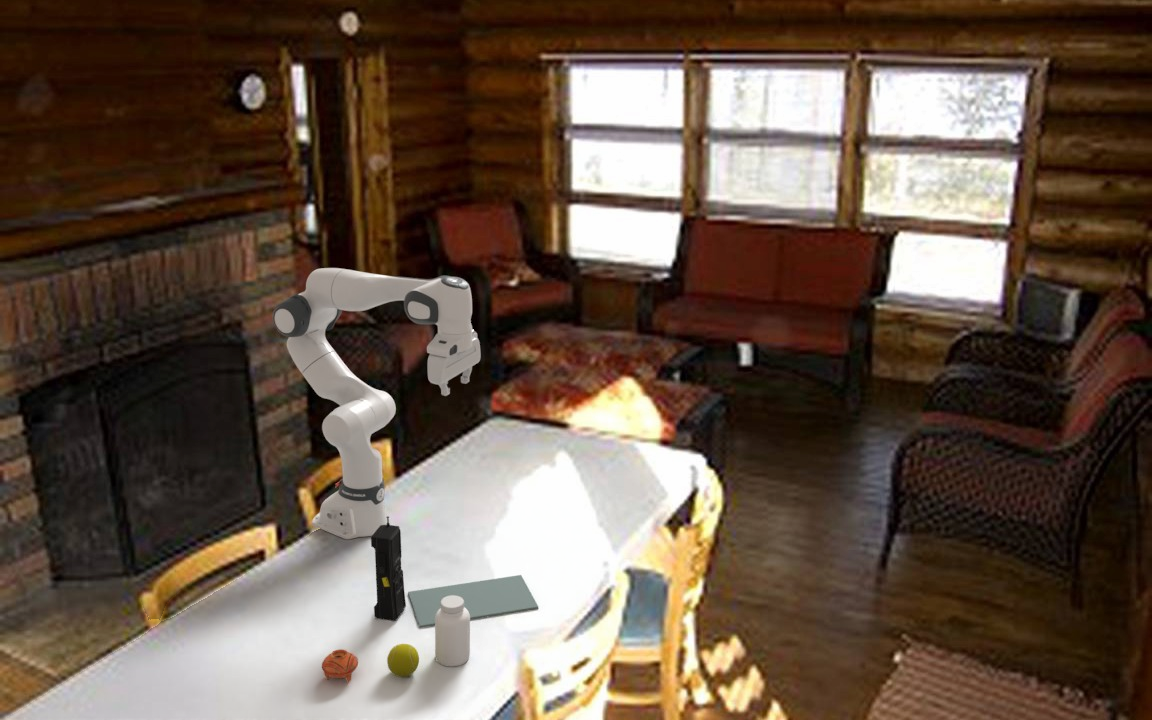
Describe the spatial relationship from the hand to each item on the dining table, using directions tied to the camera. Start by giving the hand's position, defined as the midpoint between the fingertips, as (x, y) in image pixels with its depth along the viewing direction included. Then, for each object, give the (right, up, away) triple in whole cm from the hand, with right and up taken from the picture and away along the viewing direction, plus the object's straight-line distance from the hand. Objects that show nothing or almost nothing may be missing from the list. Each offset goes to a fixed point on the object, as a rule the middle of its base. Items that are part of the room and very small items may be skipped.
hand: (455, 388), depth 269 cm
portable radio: (-14, -56, -16) cm, 60 cm away
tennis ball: (-7, -63, -39) cm, 75 cm away
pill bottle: (+3, -62, -33) cm, 70 cm away
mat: (+6, -54, -10) cm, 55 cm away
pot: (-21, -64, -40) cm, 78 cm away
